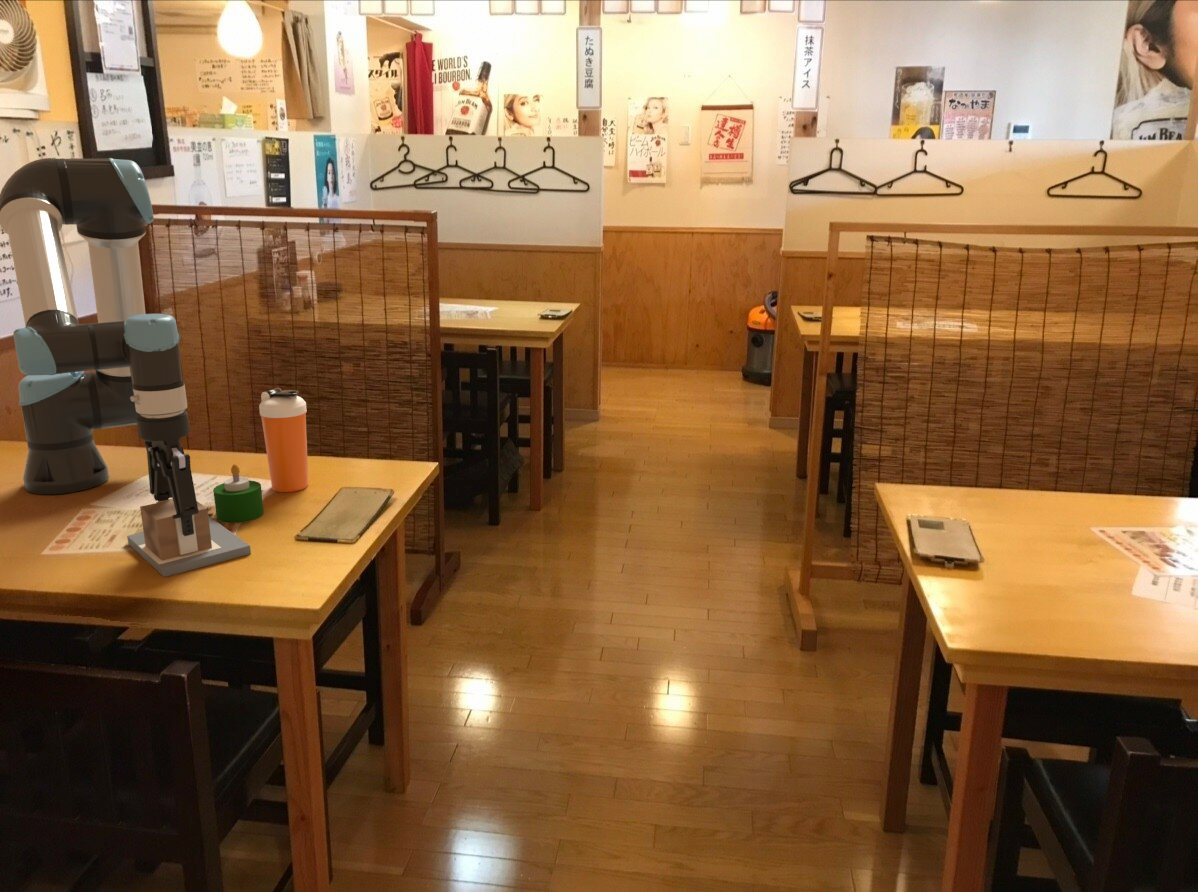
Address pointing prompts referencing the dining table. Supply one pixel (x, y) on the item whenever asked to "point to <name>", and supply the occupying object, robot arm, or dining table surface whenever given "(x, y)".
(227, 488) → the candle
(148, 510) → the block
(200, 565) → the board
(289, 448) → the shaker bottle
